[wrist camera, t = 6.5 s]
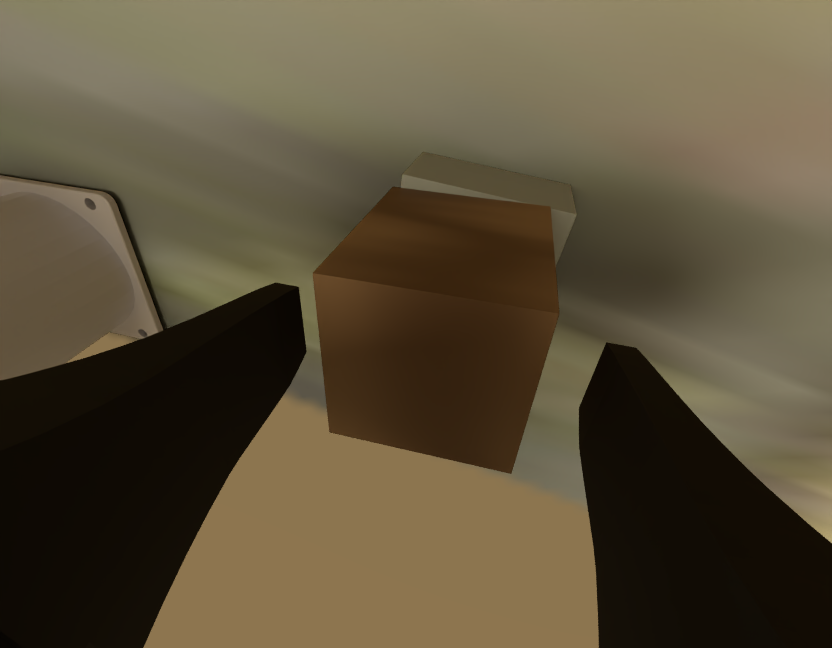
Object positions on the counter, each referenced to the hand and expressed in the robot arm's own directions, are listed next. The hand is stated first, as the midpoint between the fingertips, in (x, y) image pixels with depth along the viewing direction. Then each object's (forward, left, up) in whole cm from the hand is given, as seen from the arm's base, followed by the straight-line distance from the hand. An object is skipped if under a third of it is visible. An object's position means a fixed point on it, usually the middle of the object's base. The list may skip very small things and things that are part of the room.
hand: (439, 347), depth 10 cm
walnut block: (0, 0, -4) cm, 4 cm away
